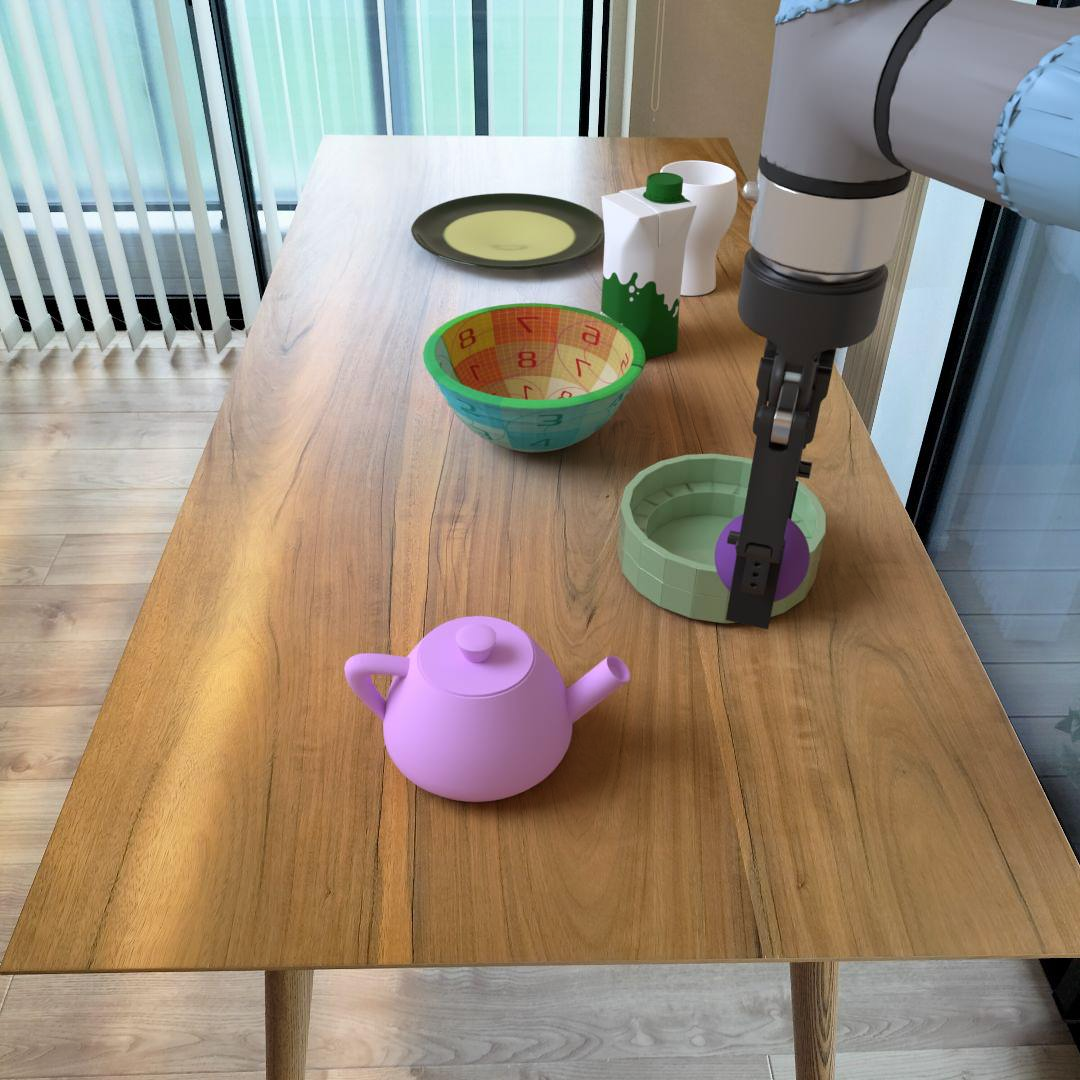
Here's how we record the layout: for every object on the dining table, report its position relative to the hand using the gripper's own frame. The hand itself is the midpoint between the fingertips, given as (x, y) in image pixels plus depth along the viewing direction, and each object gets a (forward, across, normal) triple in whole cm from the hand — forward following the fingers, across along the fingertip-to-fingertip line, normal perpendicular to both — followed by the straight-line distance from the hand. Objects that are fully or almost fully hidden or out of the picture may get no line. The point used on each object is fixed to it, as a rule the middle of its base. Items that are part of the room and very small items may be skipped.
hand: (755, 588), depth 71 cm
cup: (+16, -80, -19) cm, 83 cm away
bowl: (+16, -37, -27) cm, 48 cm away
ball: (0, 0, 0) cm, 0 cm away
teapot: (+15, +5, -17) cm, 23 cm away
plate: (+16, -85, -46) cm, 98 cm away
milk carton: (+16, -60, -21) cm, 66 cm away
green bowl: (+15, -21, -5) cm, 27 cm away
